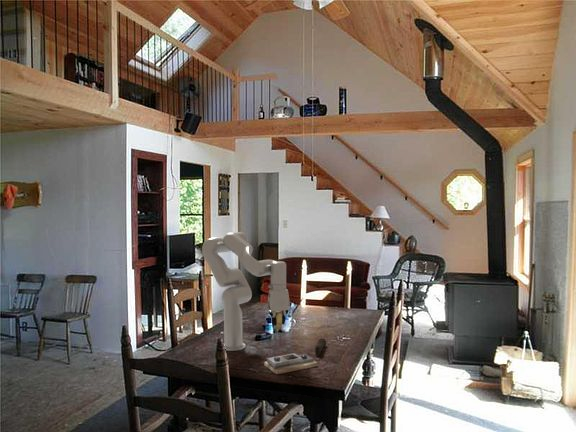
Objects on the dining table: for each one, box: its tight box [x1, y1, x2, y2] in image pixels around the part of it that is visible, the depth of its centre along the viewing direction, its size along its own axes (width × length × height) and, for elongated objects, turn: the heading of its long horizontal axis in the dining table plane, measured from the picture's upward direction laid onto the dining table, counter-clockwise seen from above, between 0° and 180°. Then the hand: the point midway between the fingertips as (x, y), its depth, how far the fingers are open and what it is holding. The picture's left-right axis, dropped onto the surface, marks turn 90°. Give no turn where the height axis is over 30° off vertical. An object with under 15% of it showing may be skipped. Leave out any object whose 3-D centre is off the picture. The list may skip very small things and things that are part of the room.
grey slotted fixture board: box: [266, 352, 315, 369], centre depth 196 cm, size 8×20×3 cm, turn 117°
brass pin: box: [273, 311, 283, 331], centre depth 207 cm, size 4×4×8 cm
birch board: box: [263, 360, 318, 375], centre depth 197 cm, size 13×21×2 cm, turn 117°
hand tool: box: [314, 338, 327, 357], centre depth 217 cm, size 19×4×5 cm, turn 164°
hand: (278, 324), depth 207 cm, fingers closed on brass pin, 4 cm apart
